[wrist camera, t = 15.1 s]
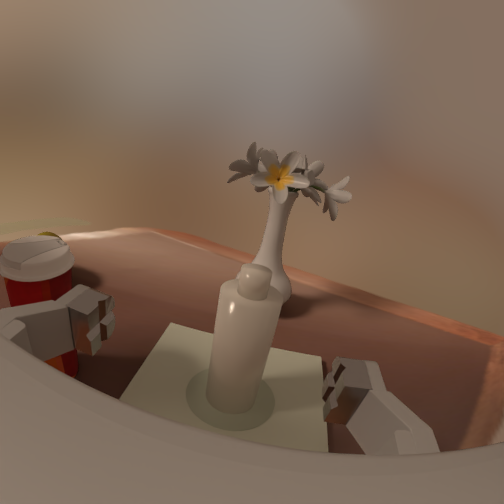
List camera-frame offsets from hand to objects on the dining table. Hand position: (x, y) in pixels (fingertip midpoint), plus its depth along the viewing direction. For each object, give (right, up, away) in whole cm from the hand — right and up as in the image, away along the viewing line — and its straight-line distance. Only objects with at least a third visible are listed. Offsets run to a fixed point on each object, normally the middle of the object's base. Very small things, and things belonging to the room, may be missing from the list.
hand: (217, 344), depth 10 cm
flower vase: (+3, -6, +40) cm, 40 cm away
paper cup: (-20, -10, +15) cm, 27 cm away
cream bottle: (-1, -11, +17) cm, 21 cm away
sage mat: (-1, -12, +18) cm, 22 cm away
